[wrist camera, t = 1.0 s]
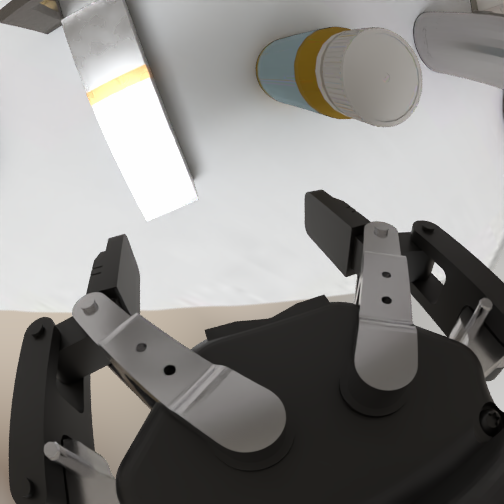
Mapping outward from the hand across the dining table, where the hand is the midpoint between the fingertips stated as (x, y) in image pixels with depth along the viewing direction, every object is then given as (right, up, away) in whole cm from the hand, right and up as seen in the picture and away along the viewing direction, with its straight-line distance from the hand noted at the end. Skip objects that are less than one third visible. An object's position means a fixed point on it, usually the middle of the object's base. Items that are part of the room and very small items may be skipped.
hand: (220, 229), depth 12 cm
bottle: (+5, +17, +12) cm, 22 cm away
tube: (-10, +13, +10) cm, 19 cm away
